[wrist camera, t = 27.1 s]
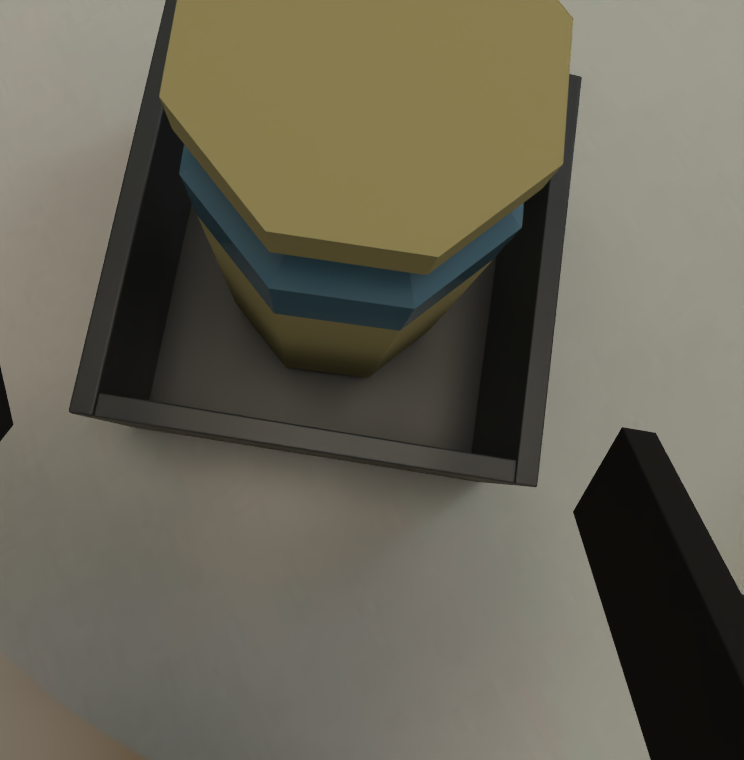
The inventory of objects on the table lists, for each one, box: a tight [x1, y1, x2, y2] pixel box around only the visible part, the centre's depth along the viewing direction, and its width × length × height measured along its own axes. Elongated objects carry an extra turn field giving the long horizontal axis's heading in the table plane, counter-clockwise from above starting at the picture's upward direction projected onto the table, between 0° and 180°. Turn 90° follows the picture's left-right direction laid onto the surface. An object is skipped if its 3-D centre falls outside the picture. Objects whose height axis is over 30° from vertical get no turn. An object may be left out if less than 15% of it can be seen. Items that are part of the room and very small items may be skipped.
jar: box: [159, 0, 573, 378], centre depth 19 cm, size 9×9×15 cm
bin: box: [69, 0, 582, 487], centre depth 24 cm, size 16×16×7 cm
